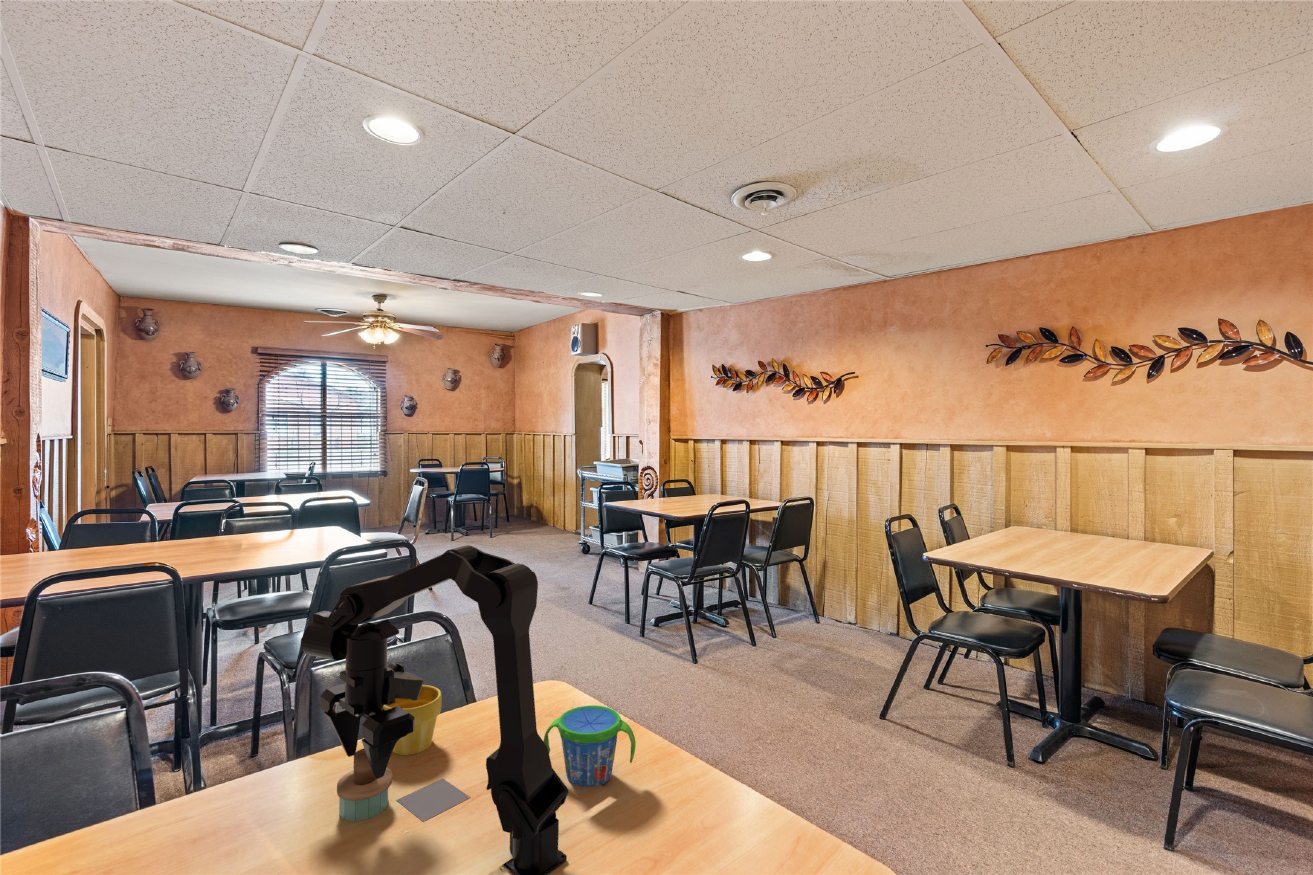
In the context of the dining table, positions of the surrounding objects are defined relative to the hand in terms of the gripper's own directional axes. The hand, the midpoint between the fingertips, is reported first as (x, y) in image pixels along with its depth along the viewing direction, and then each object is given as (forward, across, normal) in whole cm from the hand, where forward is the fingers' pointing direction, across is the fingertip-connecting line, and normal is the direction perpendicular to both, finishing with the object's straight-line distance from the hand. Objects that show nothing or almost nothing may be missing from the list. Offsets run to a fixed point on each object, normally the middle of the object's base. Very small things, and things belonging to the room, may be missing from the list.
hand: (365, 766), depth 93 cm
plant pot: (+7, +12, -14) cm, 20 cm away
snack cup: (+7, -19, -29) cm, 35 cm away
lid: (+3, 0, 0) cm, 3 cm away
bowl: (+7, 0, 0) cm, 7 cm away
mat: (+7, -6, -8) cm, 12 cm away
